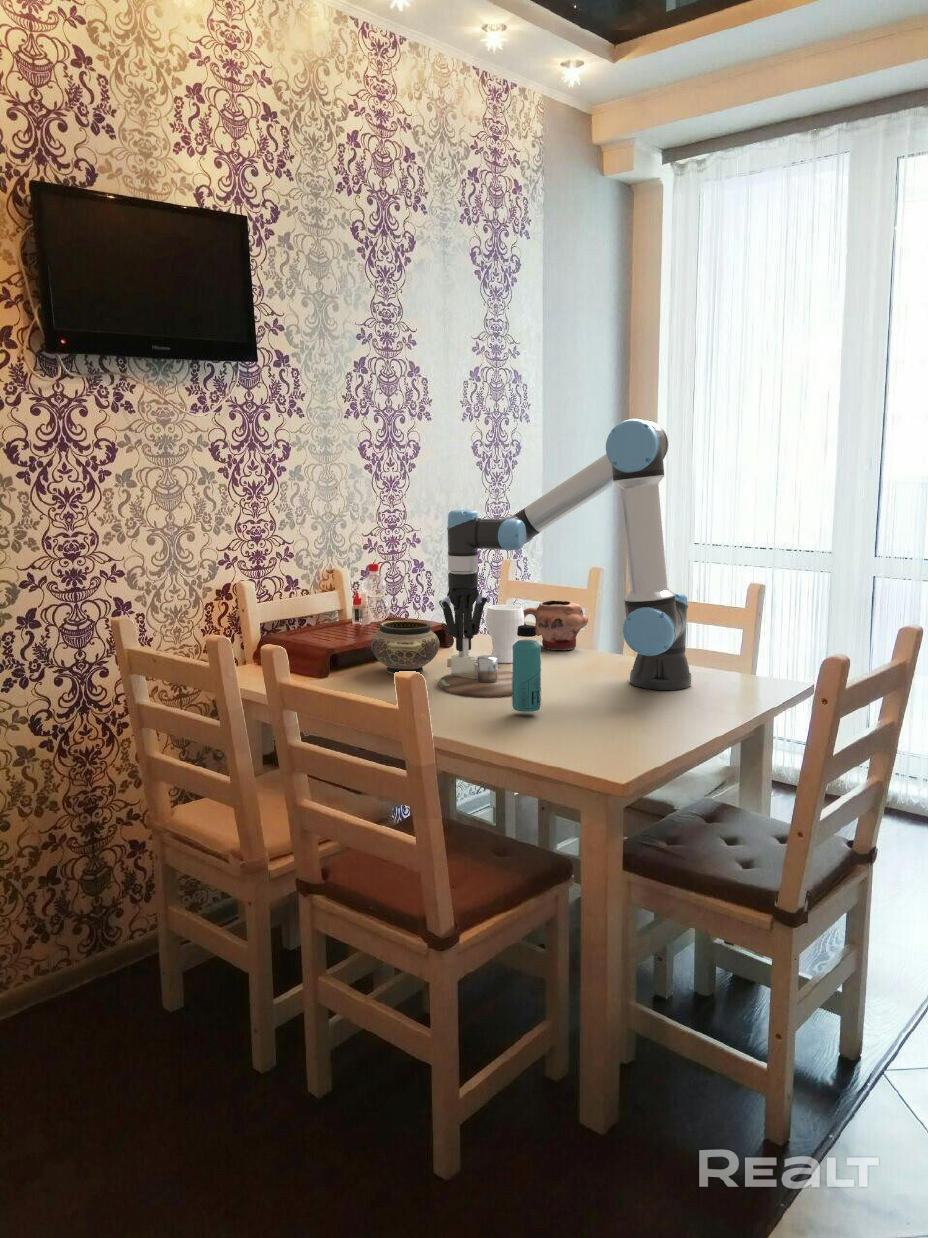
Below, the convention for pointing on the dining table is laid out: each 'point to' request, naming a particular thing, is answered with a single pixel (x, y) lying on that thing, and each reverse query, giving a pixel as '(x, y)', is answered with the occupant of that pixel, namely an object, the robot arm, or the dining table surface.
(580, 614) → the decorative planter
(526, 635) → the beverage bottle
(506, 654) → the cup
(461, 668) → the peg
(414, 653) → the ceramic bowl
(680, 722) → the dining table surface
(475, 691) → the round wooden board
